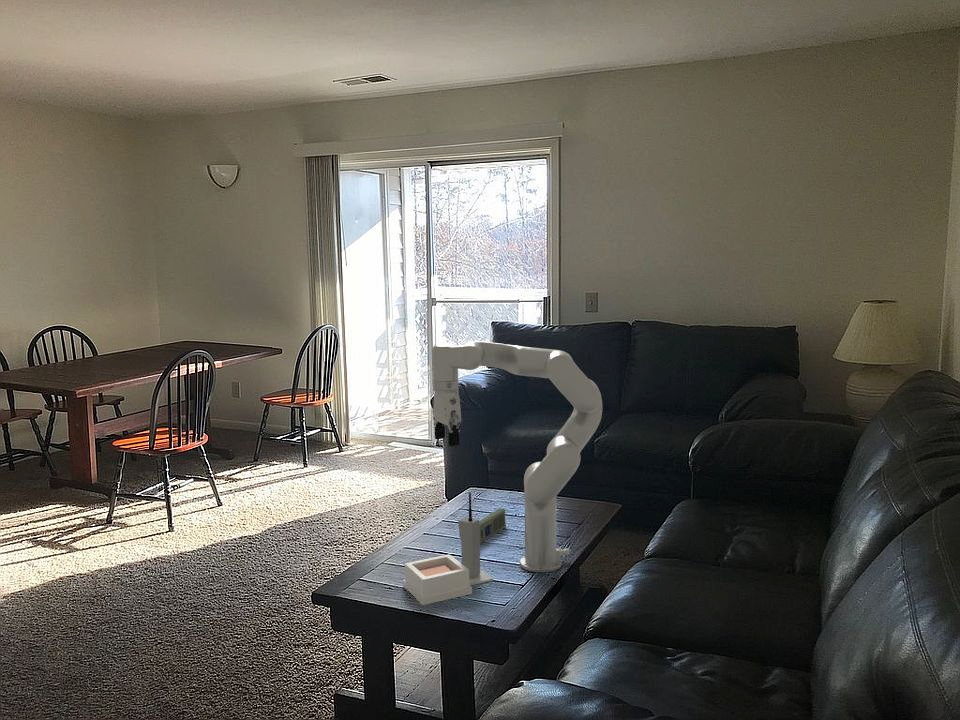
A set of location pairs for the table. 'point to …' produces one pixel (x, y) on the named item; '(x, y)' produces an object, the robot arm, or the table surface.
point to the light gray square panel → (480, 578)
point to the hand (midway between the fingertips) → (446, 442)
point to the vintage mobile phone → (470, 543)
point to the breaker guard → (437, 580)
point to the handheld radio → (492, 524)
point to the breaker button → (435, 570)
